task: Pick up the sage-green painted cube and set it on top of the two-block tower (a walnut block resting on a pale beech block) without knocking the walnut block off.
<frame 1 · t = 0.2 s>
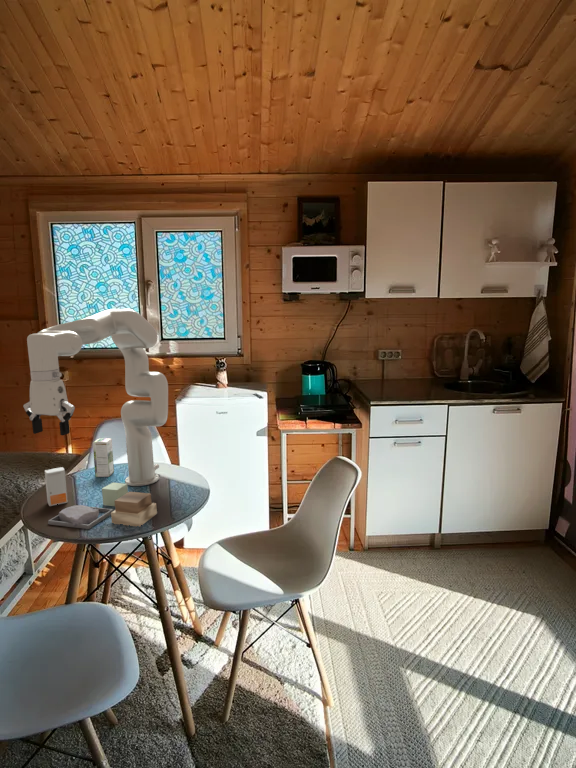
hand: (51, 433, 150), 31 cm above the table, tool pointing down, fingers open, 9 cm apart
skincare box: (58, 503, 177), on the table
tray rim: (81, 518, 164), on the table
stone block: (81, 520, 164), resting in tray rim
syrup box: (105, 475, 205), on the table
beech block: (135, 519, 163), on the table, touching walnut block
green cube: (116, 502, 176), on the table
walnut block: (133, 507, 163), point 4 cm above the table, touching beech block
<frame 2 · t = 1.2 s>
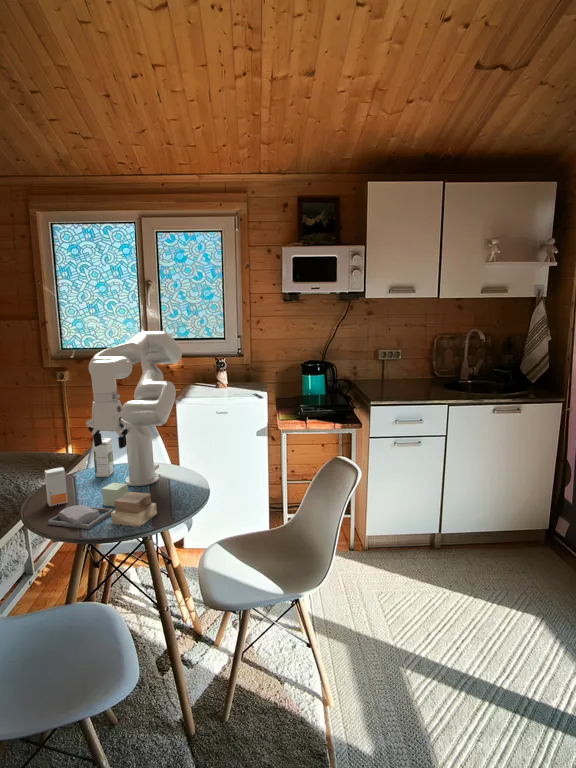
hand: (110, 446, 173), 20 cm above the table, tool pointing down, fingers open, 9 cm apart
nothing on the table moved.
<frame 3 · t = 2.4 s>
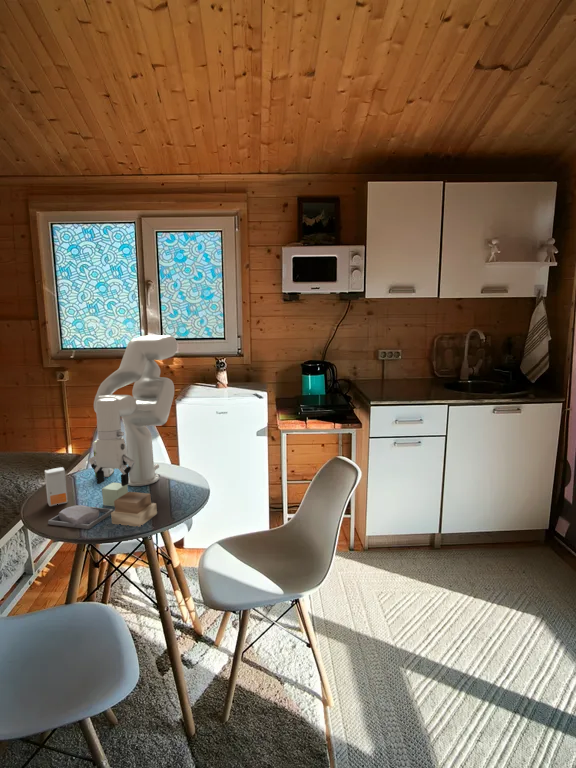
hand: (112, 483, 174), 7 cm above the table, tool pointing down, fingers open, 9 cm apart
nothing on the table moved.
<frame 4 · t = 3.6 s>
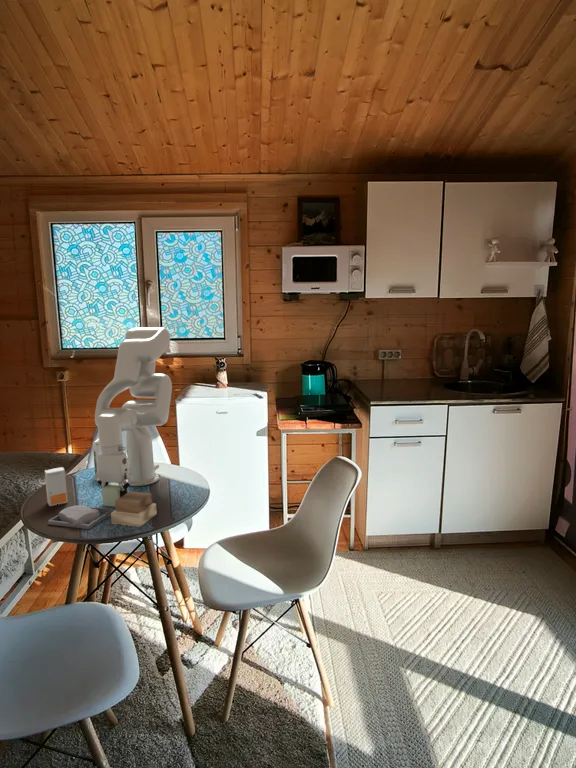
hand: (115, 499, 176), 1 cm above the table, tool pointing down, fingers closed on green cube, 6 cm apart
green cube: (116, 502, 176), on the table, touching gripper
everything else where it was.
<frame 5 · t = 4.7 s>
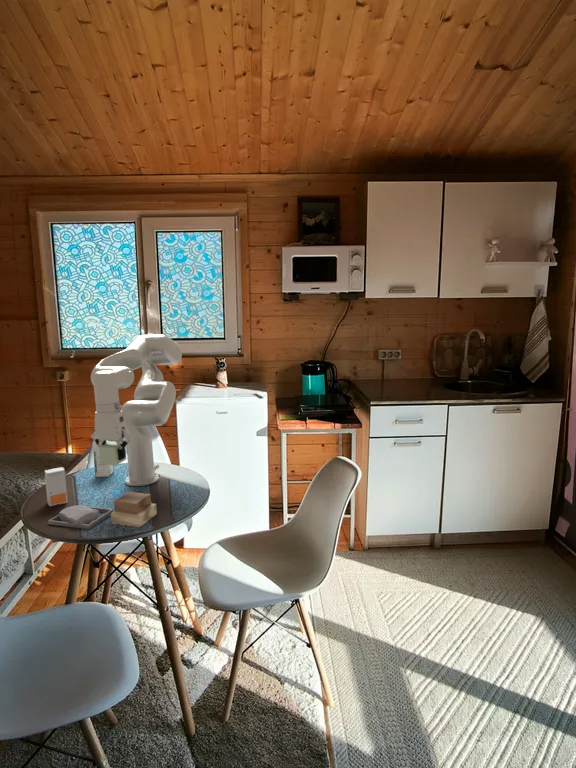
hand: (113, 457, 175), 16 cm above the table, tool pointing down, fingers closed on green cube, 6 cm apart
beech block: (134, 520, 163), on the table
green cube: (113, 461, 175), point 14 cm above the table, touching gripper
walnut block: (133, 508, 162), point 4 cm above the table
everything else where it was.
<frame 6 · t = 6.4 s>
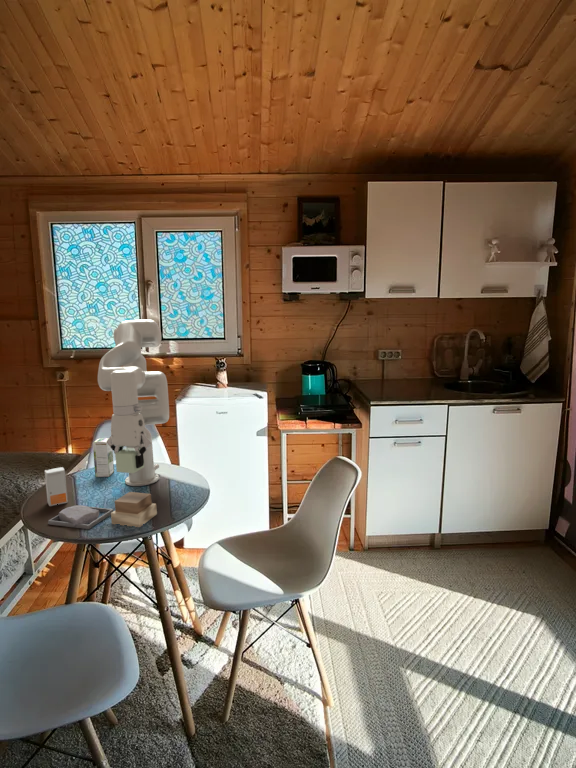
hand: (130, 465, 160), 18 cm above the table, tool pointing down, fingers closed on green cube, 6 cm apart
beech block: (134, 520, 163), on the table, touching walnut block
green cube: (130, 469, 160), point 16 cm above the table, touching gripper
walnut block: (133, 507, 162), point 4 cm above the table, touching beech block
everything else where it was.
when the fingers open (9 cm above the table, at t = 8.2 s): green cube drops 1 cm, resting on walnut block.
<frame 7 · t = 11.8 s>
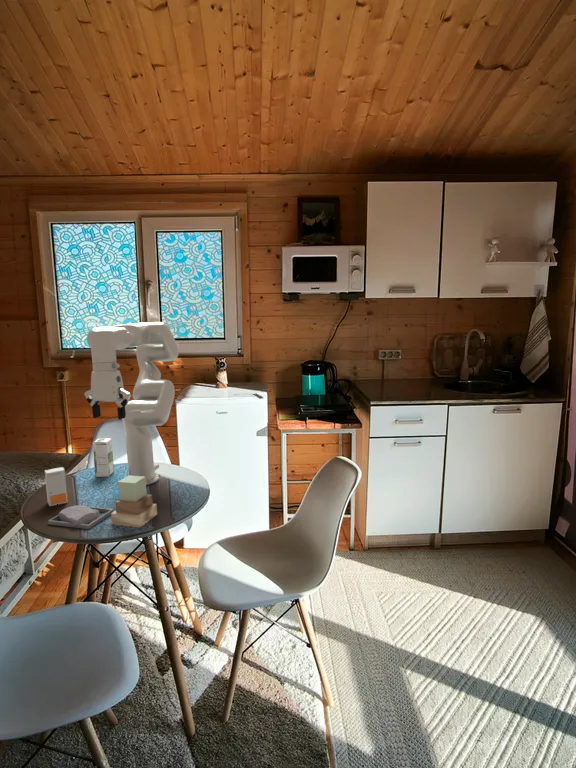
hand: (109, 417, 170), 30 cm above the table, tool pointing down, fingers open, 9 cm apart
green cube: (133, 497, 162), point 7 cm above the table, touching walnut block
walnut block: (134, 508, 161), point 4 cm above the table, touching beech block, green cube
everything else where it was.
at the end: green cube inside the target area on the walnut block (1.1 cm from its centre), point 3.5 cm above the walnut block's base; green cube tilted 0°; walnut block moved 1.1 cm from its start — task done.
